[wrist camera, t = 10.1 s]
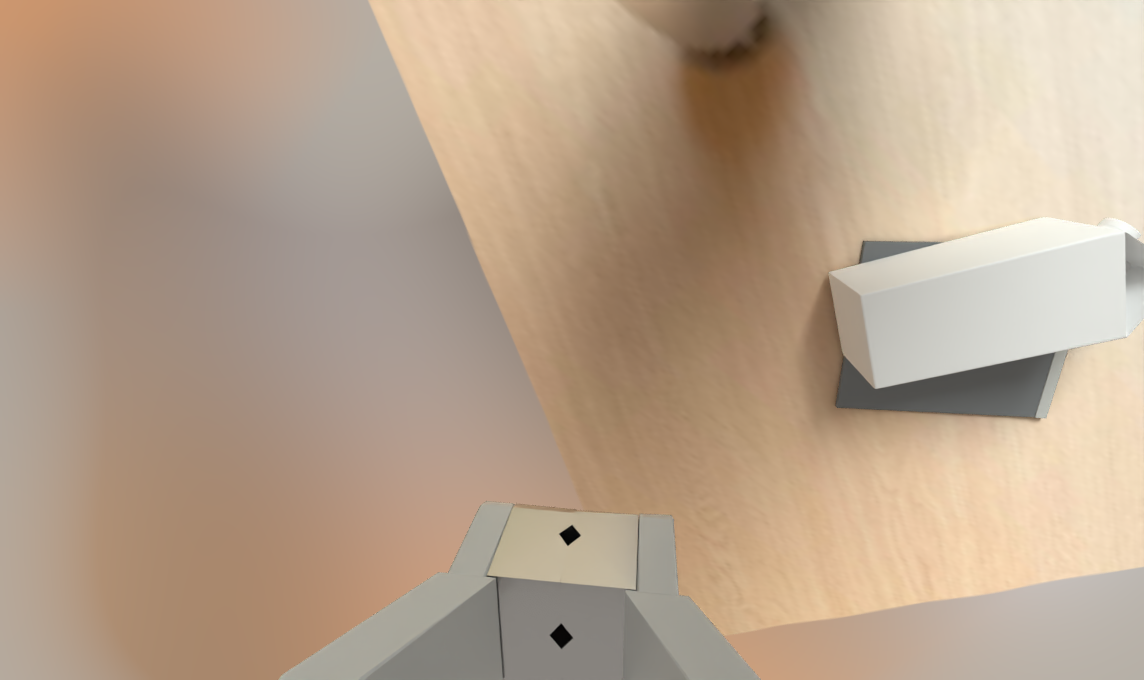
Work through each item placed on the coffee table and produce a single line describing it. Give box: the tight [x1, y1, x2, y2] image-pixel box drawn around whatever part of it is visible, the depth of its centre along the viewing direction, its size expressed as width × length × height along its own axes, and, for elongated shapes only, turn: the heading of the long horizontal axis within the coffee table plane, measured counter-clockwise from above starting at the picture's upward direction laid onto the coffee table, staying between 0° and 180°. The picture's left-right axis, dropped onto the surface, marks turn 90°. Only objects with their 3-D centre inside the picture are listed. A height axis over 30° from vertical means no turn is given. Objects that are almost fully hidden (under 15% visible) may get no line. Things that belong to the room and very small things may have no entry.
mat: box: [835, 241, 1068, 418], centre depth 42 cm, size 14×16×1 cm
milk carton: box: [828, 217, 1144, 389], centre depth 38 cm, size 7×7×19 cm
